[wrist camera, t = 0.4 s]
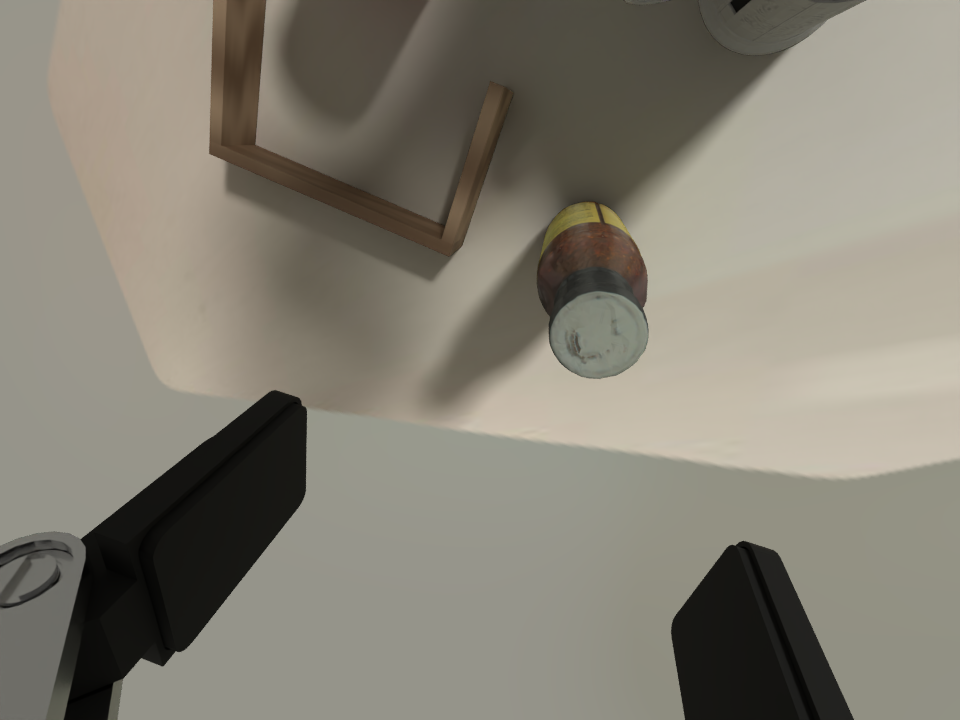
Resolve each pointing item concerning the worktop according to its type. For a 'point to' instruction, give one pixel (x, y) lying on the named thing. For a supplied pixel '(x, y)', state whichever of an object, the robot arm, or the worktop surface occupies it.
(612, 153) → the worktop surface
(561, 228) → the sauce bottle
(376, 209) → the wooden corner frame
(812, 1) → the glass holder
